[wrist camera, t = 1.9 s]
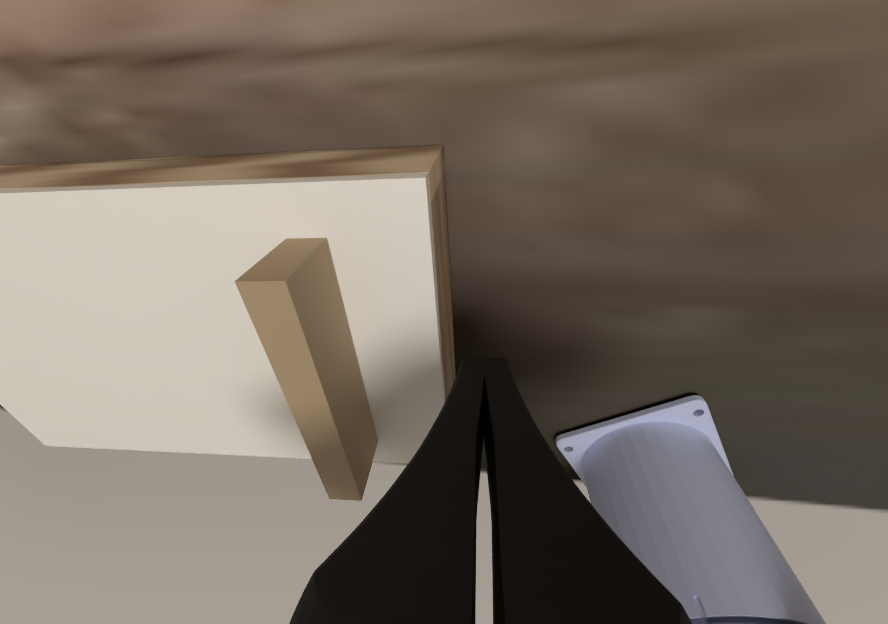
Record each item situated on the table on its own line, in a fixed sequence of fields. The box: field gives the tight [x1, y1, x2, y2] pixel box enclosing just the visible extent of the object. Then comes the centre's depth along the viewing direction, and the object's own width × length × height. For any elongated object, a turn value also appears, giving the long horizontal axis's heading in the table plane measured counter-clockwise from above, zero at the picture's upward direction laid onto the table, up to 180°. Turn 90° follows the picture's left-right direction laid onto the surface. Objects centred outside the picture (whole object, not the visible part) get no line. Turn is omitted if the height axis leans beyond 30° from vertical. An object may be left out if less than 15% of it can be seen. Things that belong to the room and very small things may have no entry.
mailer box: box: [0, 145, 456, 400], centre depth 15 cm, size 20×12×4 cm, turn 93°
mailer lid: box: [0, 173, 446, 501], centre depth 12 cm, size 20×12×3 cm, turn 93°
